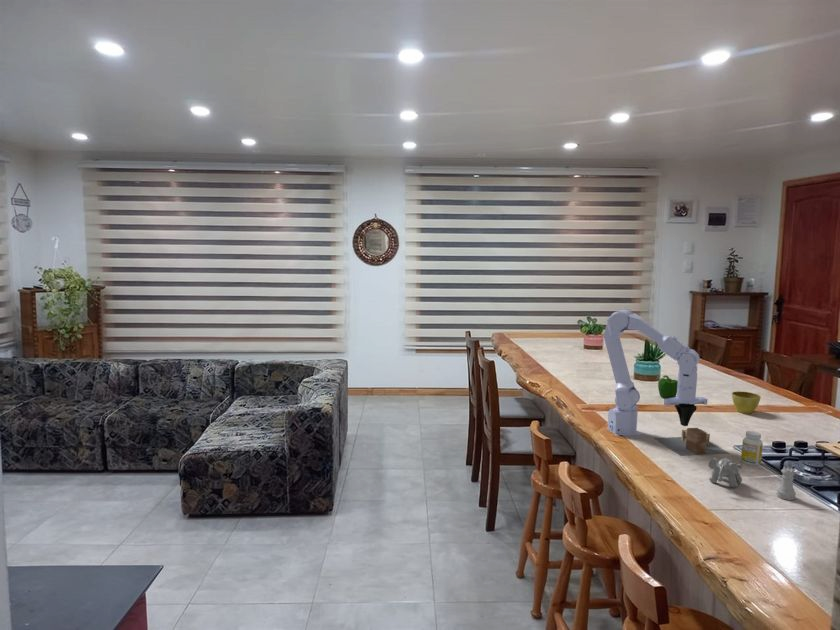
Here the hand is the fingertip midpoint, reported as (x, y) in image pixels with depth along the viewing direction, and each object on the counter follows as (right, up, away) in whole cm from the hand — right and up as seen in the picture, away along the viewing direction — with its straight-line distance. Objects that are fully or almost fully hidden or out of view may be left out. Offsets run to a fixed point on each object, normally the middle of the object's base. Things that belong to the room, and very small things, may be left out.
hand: (684, 425), depth 189 cm
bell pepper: (+20, +1, +57) cm, 61 cm away
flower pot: (+42, -2, +36) cm, 55 cm away
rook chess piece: (+9, -12, -39) cm, 41 cm away
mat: (+1, -7, -2) cm, 7 cm away
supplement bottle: (+14, -9, -15) cm, 22 cm away
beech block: (+1, -4, +1) cm, 4 cm away
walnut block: (0, -7, -7) cm, 10 cm away
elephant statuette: (-3, -11, -32) cm, 34 cm away
